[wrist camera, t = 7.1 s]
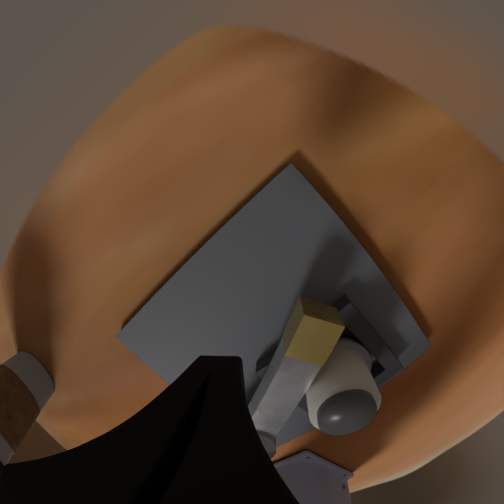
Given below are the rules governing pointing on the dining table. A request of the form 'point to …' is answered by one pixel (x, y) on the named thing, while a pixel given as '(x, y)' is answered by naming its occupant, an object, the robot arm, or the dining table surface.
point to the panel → (273, 294)
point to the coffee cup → (20, 400)
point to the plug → (344, 390)
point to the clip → (294, 366)
